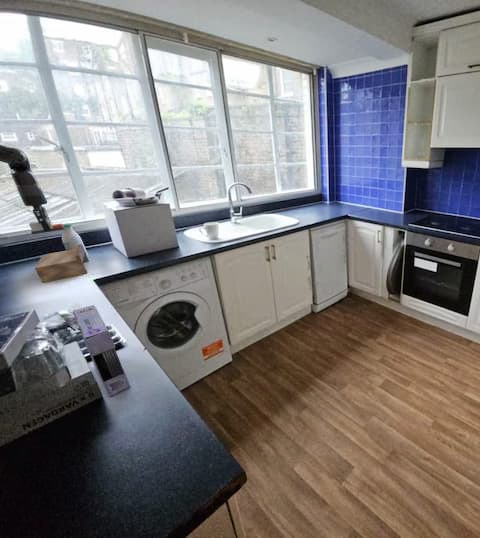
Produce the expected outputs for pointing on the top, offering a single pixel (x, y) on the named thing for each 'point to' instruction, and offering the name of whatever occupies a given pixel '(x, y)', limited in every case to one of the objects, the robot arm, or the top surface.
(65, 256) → the tan box with lid
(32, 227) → the white bottle red cap
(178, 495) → the top surface
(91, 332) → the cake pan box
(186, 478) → the top surface
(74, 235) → the milk bottle
